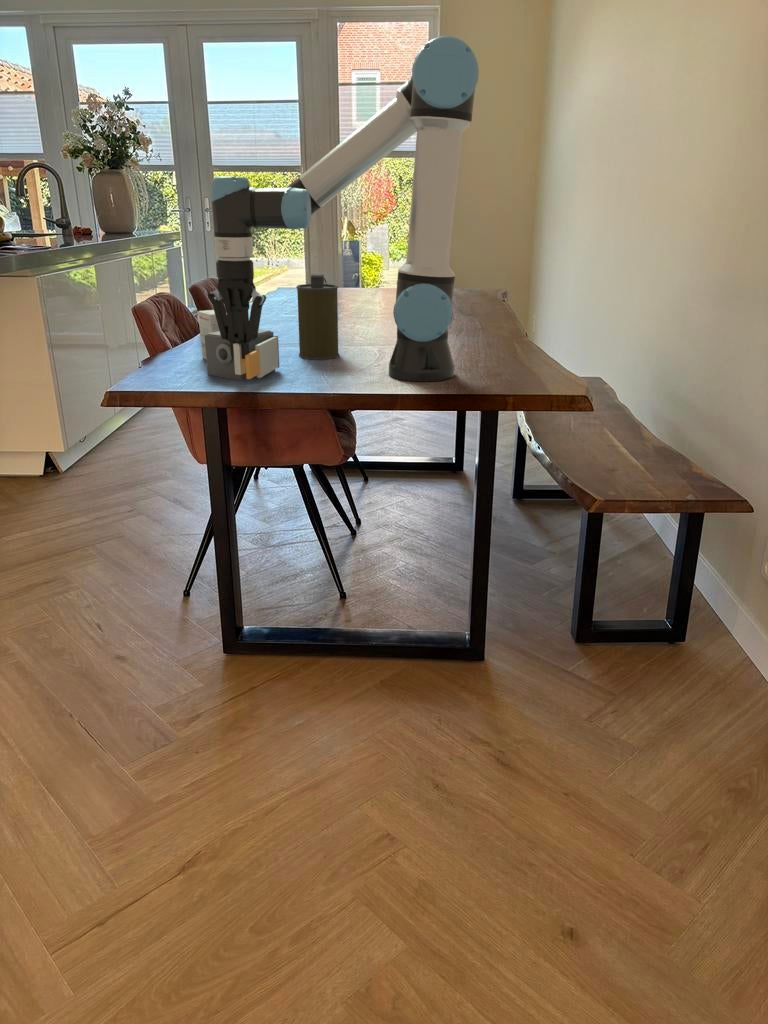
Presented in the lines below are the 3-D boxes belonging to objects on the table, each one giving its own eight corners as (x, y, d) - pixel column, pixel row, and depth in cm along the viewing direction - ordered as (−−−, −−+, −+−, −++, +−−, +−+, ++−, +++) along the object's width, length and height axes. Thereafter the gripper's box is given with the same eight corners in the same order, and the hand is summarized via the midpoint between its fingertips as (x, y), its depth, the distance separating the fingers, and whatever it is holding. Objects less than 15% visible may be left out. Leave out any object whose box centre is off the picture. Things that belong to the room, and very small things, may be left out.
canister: (338, 359, 192) (337, 277, 184) (296, 359, 192) (293, 276, 184) (340, 351, 202) (339, 272, 194) (300, 351, 202) (298, 272, 194)
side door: (280, 366, 179) (278, 335, 176) (250, 384, 162) (248, 350, 160) (276, 366, 179) (274, 335, 177) (246, 383, 163) (244, 350, 160)
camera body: (275, 370, 179) (273, 328, 176) (238, 380, 169) (235, 336, 166) (242, 365, 184) (240, 324, 180) (204, 375, 174) (201, 331, 170)
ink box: (233, 362, 188) (230, 313, 184) (214, 364, 186) (210, 314, 181) (219, 356, 195) (216, 309, 190) (201, 358, 192) (196, 310, 188)
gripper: (196, 258, 155) (205, 374, 164) (252, 261, 150) (258, 379, 160) (217, 256, 161) (225, 367, 170) (271, 258, 157) (276, 372, 166)
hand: (241, 373), depth 165 cm, fingers closed
